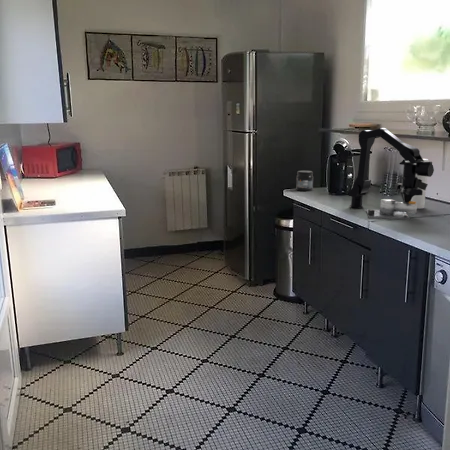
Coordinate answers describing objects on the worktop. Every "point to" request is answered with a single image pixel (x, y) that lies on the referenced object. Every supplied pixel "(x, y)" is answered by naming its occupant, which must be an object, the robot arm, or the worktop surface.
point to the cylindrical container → (421, 198)
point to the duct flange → (386, 215)
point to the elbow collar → (397, 206)
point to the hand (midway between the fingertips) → (406, 207)
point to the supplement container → (304, 181)
